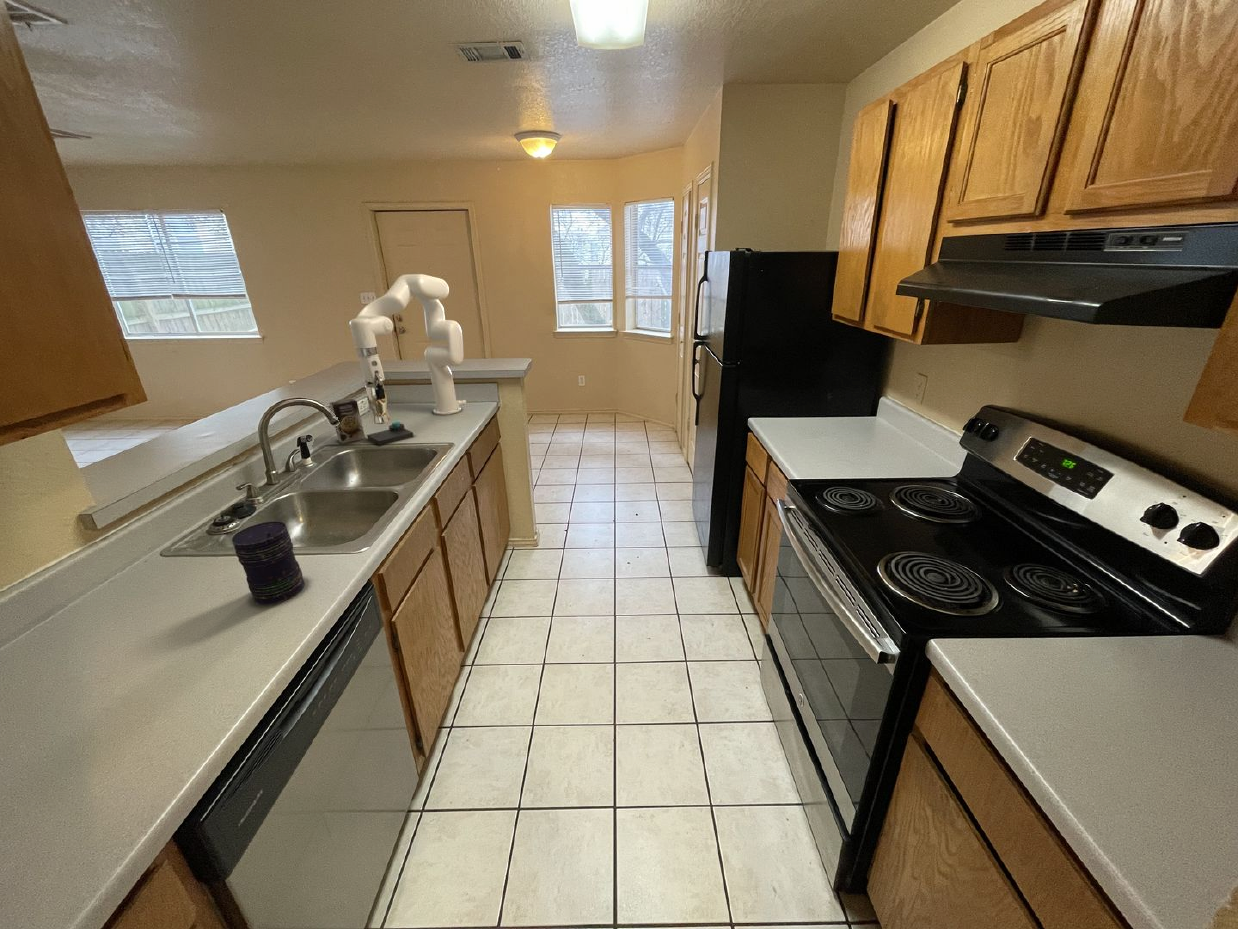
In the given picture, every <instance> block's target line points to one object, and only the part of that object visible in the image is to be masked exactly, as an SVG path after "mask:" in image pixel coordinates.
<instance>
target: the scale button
mask: <svg viewBox="0 0 1238 929" xmlns="http://www.w3.org/2000/svg"><path fill="white" fill-rule="evenodd" d="M400 424H401V423H400V421H394V422H392V423H391V425H392V426H393V427H398V426H400Z"/></svg>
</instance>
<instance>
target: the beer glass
mask: <svg viewBox="0 0 1238 929" xmlns="http://www.w3.org/2000/svg"><path fill="white" fill-rule="evenodd" d="M376 385H377V383H376ZM383 387H384V393H385V399H380V400H377V398H376V394H375V390H376V389H375V386H374V384H369V385H366V384H365V392H366V398H367V401H368V404H369V406H370V408H371V411H372V414H373V423H374V424H375V425H384V424H388V423H390V422H391V417H390V415H389V411H388V396H387V391H386V387H385V384H384V383H383Z"/></svg>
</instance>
